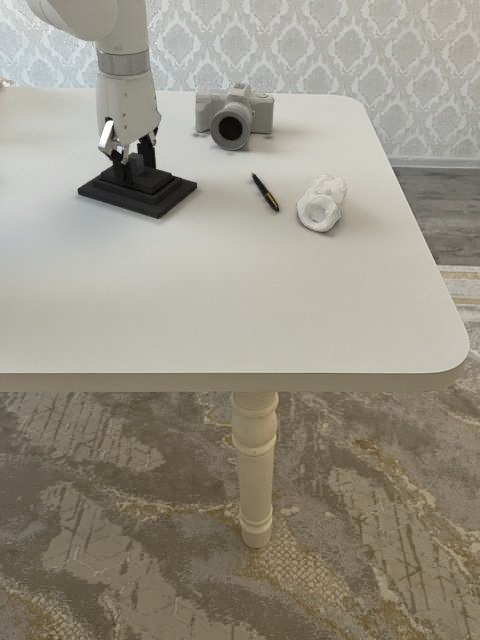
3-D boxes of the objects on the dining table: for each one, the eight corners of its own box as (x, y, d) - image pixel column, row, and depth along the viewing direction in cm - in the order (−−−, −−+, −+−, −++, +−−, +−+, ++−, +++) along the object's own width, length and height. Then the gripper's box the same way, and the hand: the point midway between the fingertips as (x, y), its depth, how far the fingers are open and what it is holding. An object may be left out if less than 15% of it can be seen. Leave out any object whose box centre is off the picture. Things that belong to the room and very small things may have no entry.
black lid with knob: (101, 179, 98) (97, 155, 95) (122, 165, 102) (120, 142, 100) (151, 194, 95) (149, 170, 93) (171, 179, 99) (170, 155, 97)
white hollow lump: (318, 194, 103) (351, 161, 97) (336, 251, 98) (373, 220, 92) (280, 181, 97) (313, 146, 92) (298, 240, 93) (334, 208, 87)
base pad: (78, 194, 99) (75, 181, 97) (121, 166, 107) (119, 154, 105) (158, 219, 94) (157, 206, 93) (197, 188, 102) (197, 176, 101)
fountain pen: (247, 175, 107) (248, 167, 106) (254, 174, 107) (254, 166, 106) (275, 214, 97) (275, 206, 96) (281, 213, 97) (282, 205, 96)
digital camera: (183, 160, 118) (168, 110, 111) (209, 131, 127) (197, 83, 121) (260, 157, 112) (250, 104, 105) (282, 126, 121) (274, 76, 115)
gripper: (137, 42, 93) (146, 151, 105) (64, 72, 82) (84, 191, 94) (177, 50, 91) (182, 161, 103) (108, 82, 79) (123, 203, 92)
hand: (136, 175), depth 98 cm, fingers closed on black lid with knob, 6 cm apart
